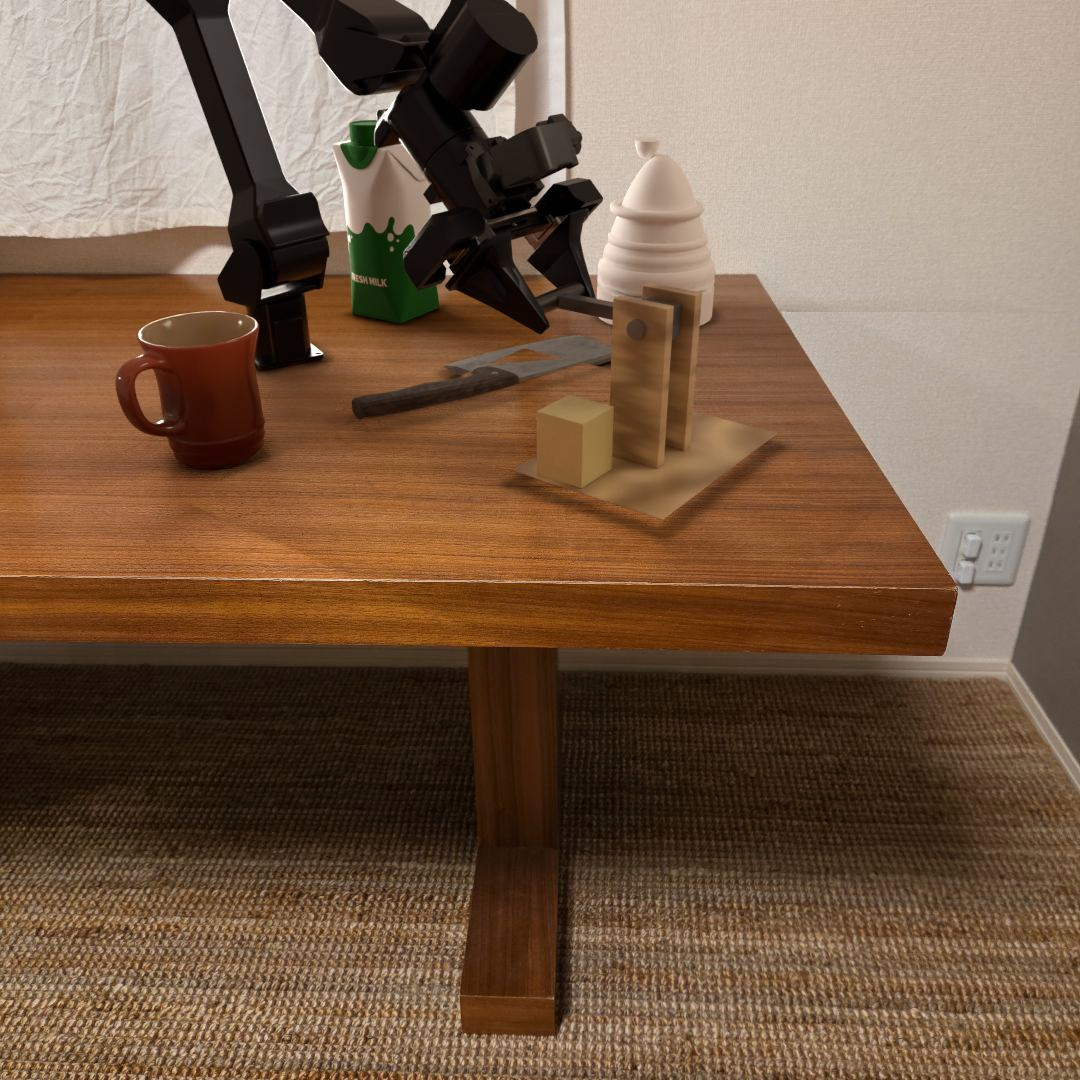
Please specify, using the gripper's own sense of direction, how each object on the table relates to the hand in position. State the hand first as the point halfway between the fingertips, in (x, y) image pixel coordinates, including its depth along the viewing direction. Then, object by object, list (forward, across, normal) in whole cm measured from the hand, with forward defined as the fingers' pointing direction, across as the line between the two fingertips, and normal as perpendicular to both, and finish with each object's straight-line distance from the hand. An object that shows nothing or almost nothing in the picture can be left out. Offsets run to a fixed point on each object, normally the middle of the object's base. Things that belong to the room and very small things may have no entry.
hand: (569, 320), depth 77 cm
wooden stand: (+12, 0, +2) cm, 13 cm away
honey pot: (-2, +34, +16) cm, 38 cm away
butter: (+10, -6, +3) cm, 12 cm away
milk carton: (-18, +18, +33) cm, 42 cm away
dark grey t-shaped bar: (+2, 0, -3) cm, 3 cm away
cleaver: (-3, +7, +17) cm, 19 cm away
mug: (-7, -20, +22) cm, 31 cm away
